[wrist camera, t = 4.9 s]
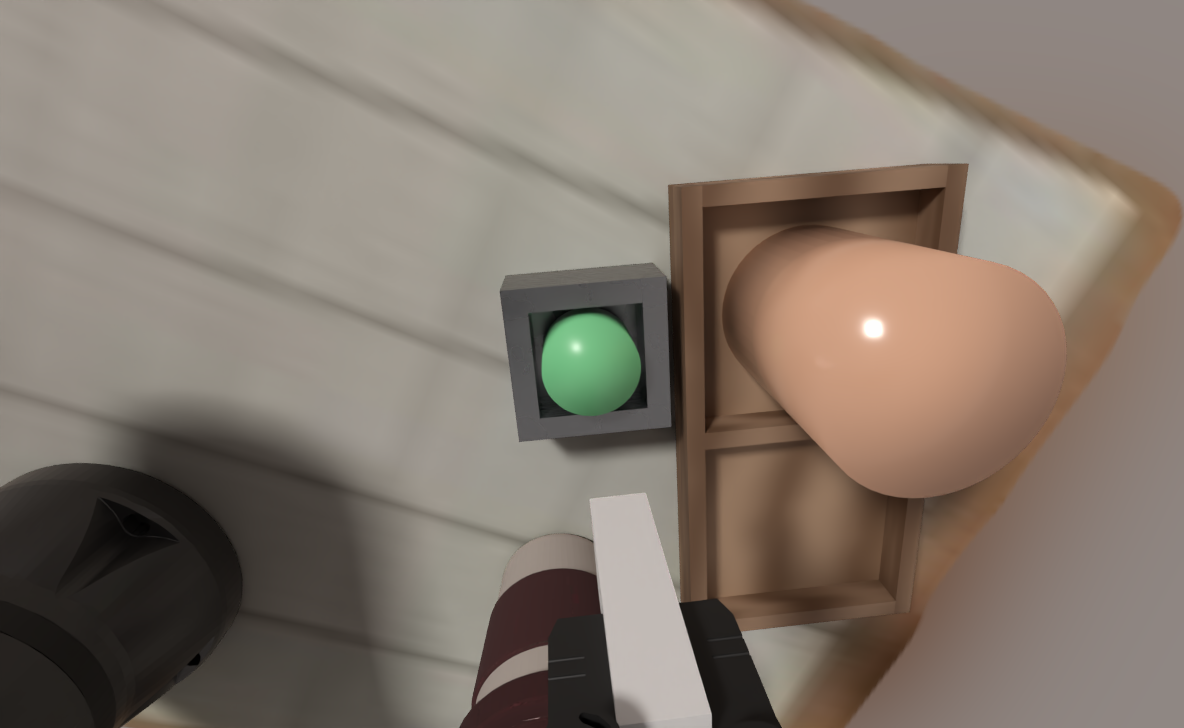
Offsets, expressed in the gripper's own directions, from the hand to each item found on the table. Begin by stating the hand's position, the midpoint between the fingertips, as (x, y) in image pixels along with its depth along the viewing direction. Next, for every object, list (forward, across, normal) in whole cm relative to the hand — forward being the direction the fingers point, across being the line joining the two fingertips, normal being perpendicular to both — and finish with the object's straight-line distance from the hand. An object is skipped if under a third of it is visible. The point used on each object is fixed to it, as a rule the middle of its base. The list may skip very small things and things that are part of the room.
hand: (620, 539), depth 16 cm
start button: (+16, 0, 0) cm, 16 cm away
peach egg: (+17, +12, +1) cm, 21 cm away
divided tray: (+18, +12, -5) cm, 23 cm away
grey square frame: (+18, 0, 0) cm, 18 cm away
